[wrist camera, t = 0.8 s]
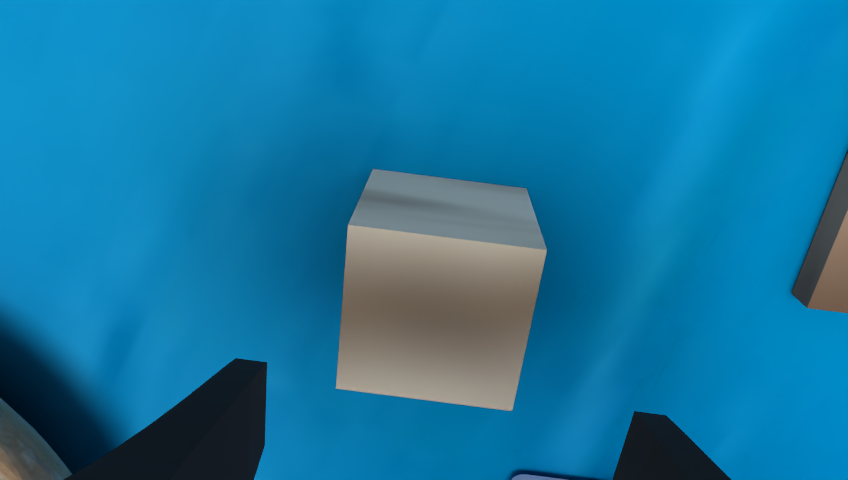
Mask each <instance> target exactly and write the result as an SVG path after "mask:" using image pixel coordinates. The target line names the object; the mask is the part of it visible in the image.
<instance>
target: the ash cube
mask: <svg viewBox="0 0 848 480" xmlns="http://www.w3.org/2000/svg"><path fill="white" fill-rule="evenodd" d="M546 253H547V249H546V246H545V243H544V240H543V237H542V234H541V231H540V228H539V225H538V222H537V219H536V216H535V212H534V209H533V206H532V203H531V200H530V197H529V194H528V191H527V188H520V187H512V186H504V185H496V184H488V183H480V182H473V181H465V180H457V179H449V178H441V177H433V176H425V175H418V174H410V173H402V172H394V171H386V170H378V169H373V170H372V172H371V174H370V177H369V179H368V181H367V183H366V186H365V188H364V190H363V192H362V195H361V197H360V199H359V201H358V203H357V206H356V208H355V210H354V212H353V215H352V217H351V219H350V221H349V224H348V231H347V245H346V259H345V272H344V286H343V299H342V313H341V327H340V340H339V354H338V367H337V381H336V389H343V390H351V391H359V392H366V393H374V394H382V395H390V396H398V397H405V398H413V399H421V400H429V401H437V402H445V403H452V404H460V405H468V406H476V407H484V408H491V409H499V410H507V411H512V410H513V405H514V401H515V396H516V392H517V387H518V382H519V378H520V373H521V368H522V364H523V359H524V354H525V350H526V345H527V341H528V336H529V331H530V327H531V322H532V317H533V313H534V308H535V304H536V299H537V294H538V290H539V285H540V280H541V276H542V271H543V266H544V262H545V257H546Z"/></svg>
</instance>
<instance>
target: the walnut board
mask: <svg viewBox="0 0 848 480" xmlns="http://www.w3.org/2000/svg"><path fill="white" fill-rule="evenodd" d="M792 294H793V295H794V296H795V297H796V298H797V299H798V300H799V301H800V302H801V303H802V304H803V305H804V306H806V307H807V308H811V309H819V310H827V311H835V312H843V313H848V153H847V155H846V158H845V160H844V163H843V165H842V168H841V170H840V173H839V175H838V178H837V180H836V183H835V186H834V188H833V191H832V193H831V196H830V198H829V201H828V203H827V206H826V208H825V211H824V213H823V216H822V218H821V221H820V223H819V226H818V228H817V231H816V233H815V236H814V238H813V241H812V243H811V246H810V248H809V251H808V253H807V256H806V258H805V261H804V263H803V266H802V268H801V271H800V273H799V276H798V278H797V281H796V283H795V286H794V288H793V291H792Z"/></svg>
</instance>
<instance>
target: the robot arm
mask: <svg viewBox="0 0 848 480" xmlns="http://www.w3.org/2000/svg"><path fill="white" fill-rule="evenodd" d="M266 376H267V362H259V361H252V360H244V359H237V358H236V359H234V360H233V361H232V362H230V363H229V364H228V365H226V366H225V367H224V368H222V369H221V370H220V371H219V372H217V373H216V374H215V375H214V376H212V377H211V378H210V379H209V380H207V381H206V382H205V383H204V384H202V385H201V386H200V387H199V388H197V389H196V390H195V391H194V392H192V393H191V394H190V395H189V396H187V397H186V398H185V399H183V400H182V401H181V402H180V403H178V404H177V405H176V406H174V407H173V408H172V409H170V410H169V411H168V412H166V413H165V414H164V415H162V416H161V417H160V418H158V419H157V420H156V421H154V422H153V423H152V424H150V425H149V426H147V427H146V428H144V429H143V430H141V431H140V432H139V433H137V434H136V435H134V436H133V437H131V438H130V439H128V440H127V441H125V442H124V443H122V444H121V445H120V446H118V447H117V448H115V449H114V450H112V451H111V452H109V453H107V454H106V455H104V456H103V457H101V458H99V459H98V460H96V461H95V462H93V463H91V464H90V465H88V466H86V467H84V468H83V469H81V470H79V471H77V472H76V473H74V474H72V475H70V476H69V477H67V478H65V479H63V480H254V477H255V474H256V471H257V468H258V465H259V461H260V458H261V455H262V452H263V449H264V446H265V411H266ZM511 480H567V479H559V478H551V477H543V476H535V475H527V474H520V475H517V476H515V477H513V478H512V479H511ZM613 480H731V479H730V478H729V477H728V476H727V475H726V474H725V473H724V472H723V471H722V470H721V469H720V468H719V467H718V466H717V465H716V464H715V463H714V462H713V461H712V460H711V459H710V458H709V457H708V456H707V455H706V454H705V453H704V452H703V451H702V450H701V449H700V448H699V447H698V446H697V445H696V444H695V443H694V442H693V441H692V440H691V439H690V438H689V437H688V436H687V435H686V434H685V433H684V432H683V431H682V430H681V429H680V428H679V427H678V426H677V425H676V424H674V423H673V422H672V421H671V420H670V419H669V418H668V417H667V416H666V415H658V414H651V413H643V412H636V411H634V414H633V418H632V421H631V424H630V427H629V430H628V433H627V436H626V439H625V443H624V446H623V449H622V452H621V455H620V458H619V461H618V464H617V468H616V471H615V474H614V477H613Z"/></svg>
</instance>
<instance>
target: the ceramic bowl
mask: <svg viewBox="0 0 848 480" xmlns="http://www.w3.org/2000/svg"><path fill="white" fill-rule="evenodd" d="M70 475H72V473H71V472H70V471H69V469H68V468H67V467H66V465H65V464H64V463H63V461H62V460H61V459H60V458H59V457H58V455H57V454H56V453H55V452H54V451H53V449H52V448H51V447H50V446H49V444H48V443H47V442H46V441H45V440H44V439H43V438H42V437H41V436H40V435H39V433H38V432H37V431H36V430H35V429H34V428H33V427H32V426H31V425H30V424H29V423H28V422H26V421H25V420H24V419H23V418H22V417H21V416H20V415H19V414H18V413H17V412H15V411H14V410H13V409H12V408H11V407H10V406H9V405H8V404H7V403H6V402H4V401H3V400H2V399H1V398H0V480H63V479H65V478H67V477H69V476H70Z"/></svg>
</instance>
